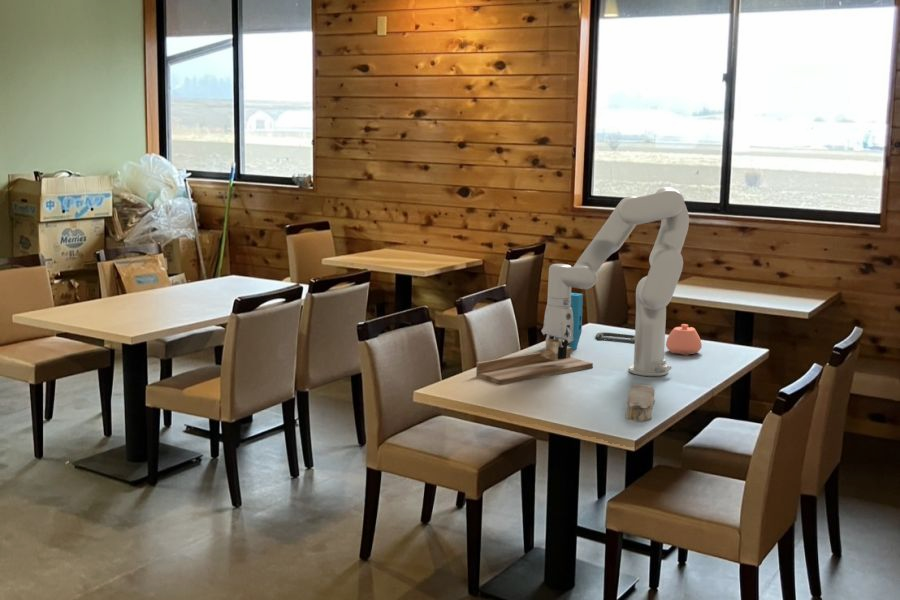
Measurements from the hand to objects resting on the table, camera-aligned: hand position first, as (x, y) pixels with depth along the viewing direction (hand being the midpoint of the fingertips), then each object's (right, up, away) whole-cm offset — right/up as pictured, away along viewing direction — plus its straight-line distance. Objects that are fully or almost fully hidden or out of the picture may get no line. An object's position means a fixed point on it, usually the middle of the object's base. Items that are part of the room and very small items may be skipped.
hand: (556, 356), depth 320 cm
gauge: (0, -1, 0) cm, 1 cm away
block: (+6, +1, +32) cm, 33 cm away
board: (-7, -5, -3) cm, 9 cm away
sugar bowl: (+49, 0, +28) cm, 56 cm away
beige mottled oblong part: (+19, -13, -43) cm, 49 cm away
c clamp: (+29, +3, +47) cm, 55 cm away
